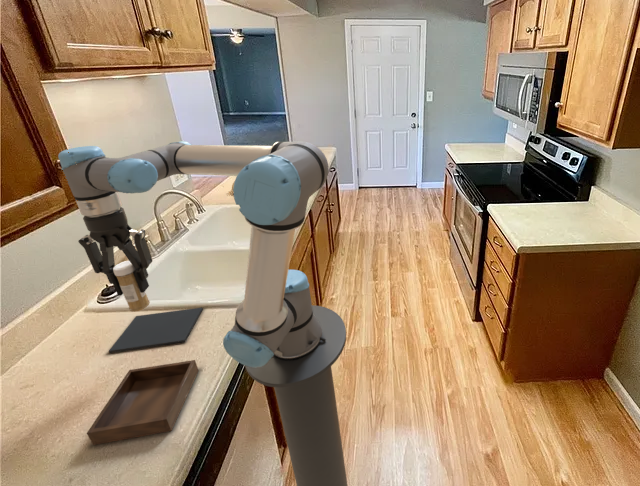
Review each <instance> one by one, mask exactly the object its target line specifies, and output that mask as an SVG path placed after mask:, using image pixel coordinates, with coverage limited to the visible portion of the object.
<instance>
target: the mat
mask: <svg viewBox="0 0 640 486" xmlns="http://www.w3.org/2000/svg"><path fill="white" fill-rule="evenodd" d="M203 310H204V308H203V307H196V308H195V307H193V308H187V309H179V310H172V311H171V310H170V311H165V312H157V313H149V314H141V315H136V316H135V317H134V318H133V320H132V321H131V322H130V323H129V324H128V326H127V327H126V328H125V330H123V332H122V334H121V335H120V336H119V337H118V338H117V339H116V341H115V342H114V344H113V345H112V346H111V347H110V348H109V349H108V352H109V353H108V354H112V353H119V352H126V351H133V350H140V349H146V348H154V347H161V346H168V345H175V344H181V343H186V341H187V339H188V337H189V336H190V334H191V332H192V331H193V329H194V327H195V325H196V323H197V321H198V319H199V317H200V315H201V314H202V312H203Z"/></svg>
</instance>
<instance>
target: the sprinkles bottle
mask: <svg viewBox="0 0 640 486" xmlns="http://www.w3.org/2000/svg"><path fill="white" fill-rule="evenodd" d="M134 270H135V268H134V267H133V265H132V264H131V262H130V261H129V260H124V261H121V262H119V263H117V264H115V266H114V267H113V271H114V274H115V275H116V277H117V279H118V281H119V284H120V287H121V290H122V292H123V294H122V295H123V297H124V299H125V301H126V303H127V306H128V309H129V312H139V311H142V310H145V309H146V308H147V307H148V306H149V305H150V302H151V300H150V299H149V297H148V295H147V290H145V292H143V293H141V292H140V289H139V287H138V284H137V282H136V279H135V276H134V274H133V271H134Z"/></svg>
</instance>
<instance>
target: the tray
mask: <svg viewBox="0 0 640 486" xmlns="http://www.w3.org/2000/svg"><path fill="white" fill-rule="evenodd" d="M198 373H199V367H198V364H197V362H196V359H193V360H185V361H179V362H173V363H172V362H171V363H167V364H159V365H153V366H146V367H140V368H133V369H129V370H128V371H127V373H126V375H124V377H123V379H122V380H121V381H120V383H119V385H118V386H117V387H116V389H115V391H114V392H113V394H112V395H111V396H110V398H109V399H108V401H106V404H105V405H104V407H103V408H102V410H101V411H100V413H99V414H98V416H97V417H96V419H95V420H94V421H93V423H92V424H91V426H90V428H89V429H88V430H87V432H86V435H87V437H88V438H89V440H90V442H91V443H92V446H95V445H96V446H97V445H100V444H107V443H111V442H112V443H113V442H119V441H124V440H129V439H134V438H139V437H145V436H150V435H156V434H161V433H167V432H172V431H173V429H174V426H175V424H176V422H177V419H178V418H179V415H180V413H181V411H182V408H183V406H184V404H185V402H186V400H187V398H188V395H189V394H190V391H191V388H192V387H193V384H194V383H195V379H196V377H197V376H198Z"/></svg>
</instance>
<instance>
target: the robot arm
mask: <svg viewBox="0 0 640 486" xmlns="http://www.w3.org/2000/svg"><path fill="white" fill-rule="evenodd" d="M67 149H68V150H67ZM67 149H64V150H61V151H60V152H59V153H58V160H60V161H59V163H60V166H61V171H62V170H63V171H62V173H63V172H64V173H63V175H64V174H65V175H64V177H65V176H66V177H65V180H66V179H67V180H66V182H67V181H68V182H67V184H68V186H69V189H70V191H71V193H72V195H73V197H74V200H75V202H76V204H77V207H78V209H79V212H80V214H81V216H83V217H82V220H83V222H84V225H85V227H86V229H87V231H88V232H89V234H85V235H84V236H83V237H81V238H80V239H78V244H79V245H80V246H81V247H82V248H83V249H84V251H85V253H86V255H87V258H88V260H89V263H90V264H91V267H92V269H93V271H94V273H95V274H100V273H102V274H103V275H105V276H106V278H107V281H108V283H109V284H110V285H113V287H114V289H115V292H116V294H117V296H118V297H119V296H122V295H124V294H123V292H122V290H121V287H120V284H119V281H118V279H117V277H116V275H115V274H114V271H113V267H114V266H115V265H116V263H115V250H114V247H117V249H118V250H119V251H122V253H123V254H124V256H125V257H126V258H127V261H130V262H131V264H132V265H133V267H134V268H135V270H134V271H133V274H134V276H135V279H136V282H137V284H138V287H139V289H140V292H141V293H143V292H145V291H147V289H148V288H149V287H150V284H149V281H148V277H149V273H148V270H147V268H148V267H149V266H150V265H151V264H152V262H153V258H152V255H151V251H150V249H149V245H148V243H147V240H146V230H145V229H143V228H141V229H140V230H136V229H133V228H132V227H131V226H130V225H129V223H128V217H127V214H126V211H125V209H124V207H122V206H123V203H122V200H121V198H120V195H119V193H122V194H142V193H147V192H149V191H150V190H152V188H153V187H155V186H156V184H157V182H160V181H161V180H164V179H166V178H170V177H171V176H174V175H188V176H189V175H196V176H216V177H217V176H220V177H235V179H234V181H235V182H234V181H233V183H234V188H233V191H232V194H233V200H234V202H235V205H237V206H239V207H240V208H239V209H238V211H239V213H241V214H242V216H243V217H244V219H245V221H246V223H248V224H249V226H251V227H250V237H249V247H248V256H247V258H248V259H247V269H246V277H245V278H246V280H245V288H244V298H243V300H241V302H240V303H239V304H238V306H237V307H236V311H235V315H234V316H235V318H234V325H233V326H232V328H231V329H230V330H228V331H227V332H226V334H225V336H224V338H223V339H222V345H223V349H224V350H225V352H226V353H227V354H228V355H229V356H230V357H231V358H232V359H233V360H234V361H236V362H237V363H238V364H240V365H242V366H249V367H255V368H256V367H262V366H264V365H265V364H266V363H267V362H268V361H269V360H270V359H271V357H273V356H275V357H276V358H278V359H281V360H286V361H290V360H297V359H300V358H303V357H305V356H307V355H309V354H310V353H311V352H313V351H314V350H315V349H316V348H317V347H318V345H319V344H320V342H321V341H324V342H325V340H326V339H324V338H322V328H321V325H320V323H319V322H318V320H317V319H316V317H315V315H314V314H313V310H312V298H311V290H310V283H309V280H308V276H307V275H306V273H304V272H303V271H301V270H298V269H290V263H291V257H292V251H293V246H294V245H293V244H294V241H295V240H294V239H295V233H296V229H298V228H300V227H301V226H302V225H303V224H304V222H305V219H306V214H307V209H308V202H309V200H310V198H311V197H312V196H313V195H315V193H316V192H318V191H319V190H320V189H321V188H322V187H323V186H324V184H325V183H326V181H327V179H328V176H329V168H330V167H329V161H328V159H327V156H326V155H325V153H324V152H323V151H322V150H321V149H320V148H319V147H318V146H317V145H315V144H313V143H311V142H308V141H276V142H274V143H273V144H272V145H219V144H218V145H217V144H216V145H212V144H211V145H210V144H208V145H207V144H192V143H190V142H189V141H185V140H181V141H174V142H169V143H168V144H165V145H162V146H157V147H155V148H150V149H147V150H144V151H140V152H136V153H132V154H130V155H129V154H128V155H126V156H125V155H124V156H122V157H106V154H105V152H104V151H103V149H102V148H101V147H100V146H96V145H87V146H86V145H85V146H84V145H83V146H77V147H71V148H67ZM68 152H69V153H68ZM75 162H76V163H75ZM76 164H77V165H76ZM77 200H78V201H77ZM86 200H87V201H86ZM133 242H134V244H133ZM98 244H99V246H98Z"/></svg>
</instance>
